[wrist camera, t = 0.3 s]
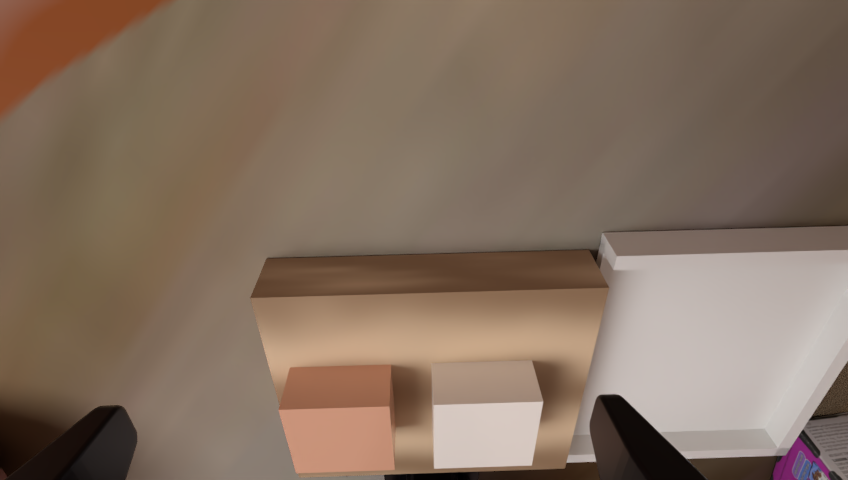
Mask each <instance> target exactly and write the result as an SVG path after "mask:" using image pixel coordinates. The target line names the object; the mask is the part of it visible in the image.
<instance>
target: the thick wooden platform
mask: <svg viewBox="0 0 848 480" xmlns="http://www.w3.org/2000/svg"><path fill="white" fill-rule="evenodd" d="M608 291H609V286H608V284H607V283H606V281H605V279H604V277H603V275H602V273H601V271H600V270H599V268H598V266H597V264H596V262H595V260H594V258H593V256H592V255H591V253H590V251H589V250H561V251H524V252H488V253H452V254H416V255H380V256H344V257H308V258H272V259H266V261H265V264H264V266H263V269H262V271H261V273H260V276H259V278H258V281H257V283H256V286H255V288H254V290H253V293H252V295H251V298H250V299H251V302H252V306H253V310H254V313H255V317H256V321H257V324H258V328H259V332H260V335H261V339H262V343H263V346H264V350H265V353H266V357H267V361H268V364H269V368H270V372H271V375H272V379H273V383H274V386H275V390H276V394H277V397H278V401H279V405H280V403H281V399H282V395H283V392H284V388H285V384H286V380H287V376H288V372H289V369H290V367H323V366H356V365H389V364H391V370H392V384H393V397H394V410H395V423H396V440H395V470H382V471H352V472H322V473H298V474H299V477H328V476H358V475H388V474H419V473H449V472H479V471H509V470H539V469H565V466H566V462H567V458H568V454H569V450H570V446H571V442H572V438H573V434H574V430H575V426H576V421H577V417H578V413H579V409H580V405H581V401H582V397H583V393H584V389H585V385H586V381H587V377H588V372H589V368H590V364H591V360H592V356H593V352H594V348H595V344H596V340H597V336H598V332H599V328H600V324H601V319H602V315H603V311H604V307H605V303H606V299H607V295H608ZM520 360H532V362H533V366H534V370H535V373H536V377H537V380H538V384H539V388H540V391H541V395H542V399H543V406H542V412H541V417H540V423H539V428H538V434H537V440H536V445H535V451H534V456H533V462H532V466H503V467H473V468H442V469H434V458H433V435H432V373H431V363H454V362H487V361H520Z"/></svg>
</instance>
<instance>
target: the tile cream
mask: <svg viewBox="0 0 848 480" xmlns="http://www.w3.org/2000/svg"><path fill="white" fill-rule="evenodd" d="M431 373H432V435H433V458H434V469H442V468H473V467H503V466H532V462H533V456H534V451H535V445H536V440H537V434H538V428H539V423H540V417H541V412H542V406H543V399H542V395H541V391H540V388H539V384H538V380H537V377H536V373H535V370H534V366H533V362H532V360H520V361H487V362H454V363H431Z"/></svg>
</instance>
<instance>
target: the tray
mask: <svg viewBox="0 0 848 480" xmlns="http://www.w3.org/2000/svg"><path fill="white" fill-rule="evenodd" d="M596 264H597V266H598V268H599V270H600V271H601V273H602V275H603V277H604V279H605V281H606V283H607V284H608V286H609V291H608V295H607V299H606V303H605V307H604V311H603V315H602V319H601V324H600V328H599V332H598V336H597V340H596V344H595V348H594V352H593V356H592V360H591V364H590V368H589V372H588V377H587V381H586V385H585V389H584V393H583V397H582V401H581V405H580V409H579V413H578V417H577V421H576V426H575V430H574V434H573V438H572V442H571V446H570V450H569V454H568V458H567V462H566V463H572V462H596V458H595V454H594V449H593V445H592V440H591V436H590V428H589V424H590V419H591V415H592V411H593V408H594V404H595V400H596V398H597V397H598V396H599V395H601V394H618V395H620V396H622V397H623V398H624V399H625V400H626V401H627V402H628V403H629V404H630V405H631V406H632V407H633V408H635V409H636V410H637V411H638V412H639V413H640V414H641V415H642V416H643V417H644V418H645V419H646V420H647V421H648V422H649V423H650V424H651V425H652V426H653V427H654V428H655V429H656V430H657V431H658V432H659V433H660V434H661V435H662V436H663V437H664V438H665V439H666V440H668V441H669V442H670V443H671V444H672V445H673V446H674V447H675V448H676V449H677V450H678V451H679V452H680V453H681V454H682V455H683V456H684V457H685V458H686V459H693V458H723V457H754V456H784V455H786V454H787V453H788V451H789V450H790V448H791V447H792V445H793V443H794V442H795V440H796V439H797V437H798V436H799V434H800V433H801V431H802V430H803V428H804V427H805V425H806V424H807V422H808V421H809V419H810V418H811V416H812V414H813V413H814V411H815V410H816V408H817V407H818V405H819V404H820V402H821V401H822V399H823V398H824V396H825V395H826V393H827V392H828V390H829V389H830V387H831V385H832V384H833V382H834V381H835V379H836V378H837V376H838V375H839V373H840V372H841V370H842V369H843V367H844V366H845V364H846V363H847V361H848V226H824V227H788V228H751V229H714V230H678V231H641V232H604V233H602V237H601V242H600V246H599V251H598V256H597V260H596Z"/></svg>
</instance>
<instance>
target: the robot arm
mask: <svg viewBox="0 0 848 480" xmlns="http://www.w3.org/2000/svg"><path fill="white" fill-rule="evenodd" d="M589 428H590V436H591V440H592V445H593V449H594V454H595V458H596V463H597V467H598V471H599V476H600V480H708V479H707V478H706V477H705V476H704V475H703V474H702V473H700V472H699V471H698V470H697V469H696V468H695V467H694V466H693V465H692V464H691V463H690V462H689V461H688V460H687V459H686V458H685V457H684V456H683V455H682V454H681V453H680V452H679V451H678V450H677V449H676V448H675V447H674V446H673V445H672V444H671V443H670V442H669V441H668V440H666V439H665V438H664V437H663V436H662V435H661V434H660V433H659V432H658V431H657V430H656V429H655V428H654V427H653V426H652V425H651V424H650V423H649V422H648V421H647V420H646V419H645V418H644V417H643V416H642V415H641V414H640V413H639V412H638V411H637V410H636V409H635V408H633V407H632V406H631V405H630V404H629V403H628V402H627V401H626V400H625V399H624V398H623V397H622V396H620V395H618V394H601V395H599V396H598V397H597V398H596V400H595V404H594V408H593V411H592V415H591V419H590V424H589ZM136 444H137V432H136V429H135V427H134V425H133V423H132V421H131V419H130V418H129V416H128V414H127V412H126V410H125V408H124V407H122V406H119V405H111V406H100V407H97V408H95V409H94V410H92V411H91V412H90V413H89V414H87V415H86V416H85V417H83V418H82V419H81V420H80V421H78V422H77V423H76V424H75V425H73V426H72V427H71V428H69V429H68V430H67V431H66V432H64V433H63V434H62V435H61V436H59V437H58V438H57V439H55V440H54V441H53V442H52V443H50V444H49V445H48V446H47V447H45V448H44V449H43V450H41V451H40V452H39V453H38V454H36V455H35V456H34V457H33V458H31V459H30V460H29V461H27V462H26V463H25V464H24V465H22V466H21V467H20V468H19V469H17V470H16V471H15V472H13V473H12V474H11V475H10V476H8V477H7V478H6V479H5V480H126V476H127V473H128V470H129V467H130V464H131V461H132V457H133V454H134V451H135V448H136ZM478 475H479V472H449V473H419V474H388V475H384V477H385V480H478Z"/></svg>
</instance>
